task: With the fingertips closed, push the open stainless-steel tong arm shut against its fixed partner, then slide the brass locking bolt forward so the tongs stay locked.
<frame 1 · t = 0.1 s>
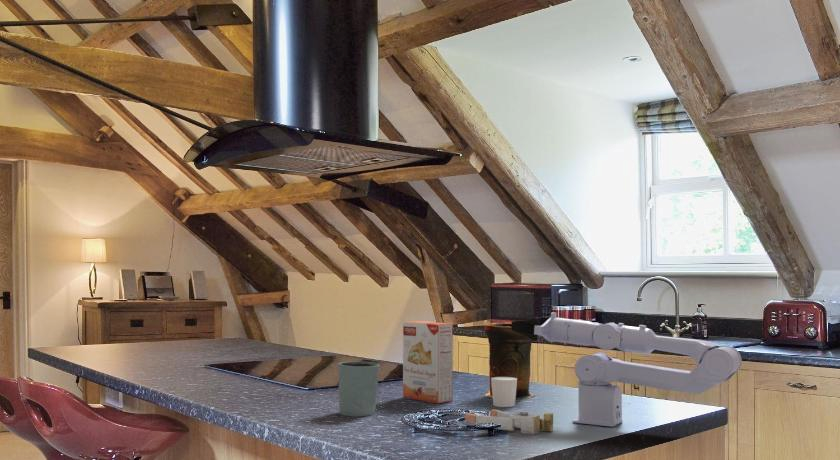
hand: (518, 324, 196), 22 cm above the countertop, tool horizontal, fingers open, 7 cm apart
vessel: (509, 396, 225), on the countertop
green cup: (358, 414, 195), on the countertop
tong arm: (507, 418, 181), point 1 cm above the countertop, hinge at -28.0°
white tapered cup: (504, 405, 208), on the countertop
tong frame: (524, 431, 174), on the countertop
cracker box: (427, 400, 216), on the countertop
lock bolt: (540, 421, 175), point 2 cm above the countertop, slide at 0.0 cm
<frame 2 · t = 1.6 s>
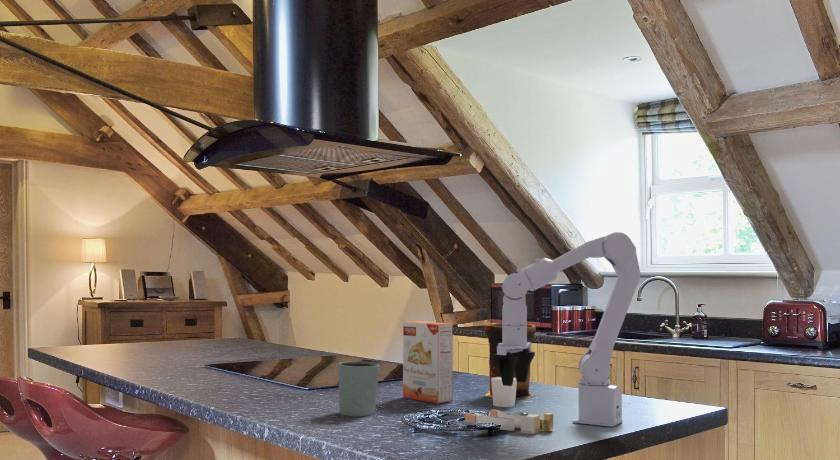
hand: (514, 383, 187), 8 cm above the countertop, tool pointing down, fingers open, 7 cm apart
nothing on the countertop moved.
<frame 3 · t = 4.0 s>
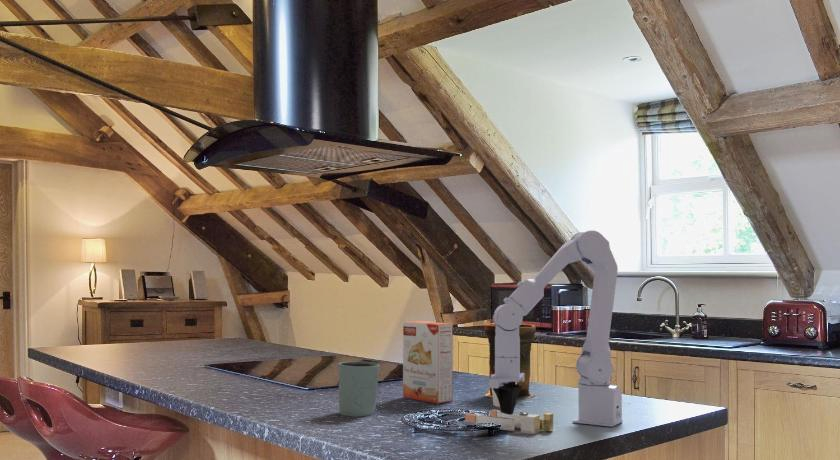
hand: (507, 416, 184), 1 cm above the countertop, tool pointing down, fingers closed
tong arm: (507, 418, 181), point 1 cm above the countertop, hinge at -27.8°, touching gripper
everything else where it was.
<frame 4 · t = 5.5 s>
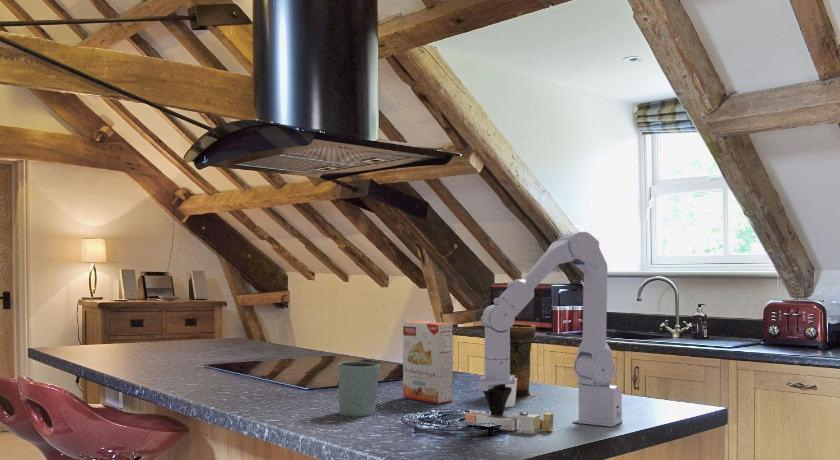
hand: (497, 419, 180), 1 cm above the countertop, tool pointing down, fingers closed
tong arm: (494, 420, 179), point 1 cm above the countertop, hinge at 0.3°, touching gripper
everything else where it was.
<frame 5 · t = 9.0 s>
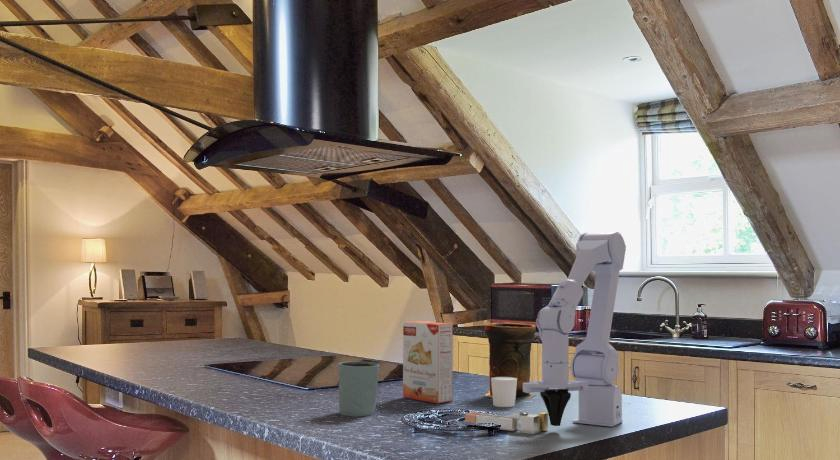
hand: (555, 425, 174), 1 cm above the countertop, tool pointing down, fingers closed
tong arm: (494, 420, 179), point 1 cm above the countertop, hinge at 0.3°
lock bolt: (535, 420, 176), point 2 cm above the countertop, slide at 1.3 cm, touching gripper
everything else where it was.
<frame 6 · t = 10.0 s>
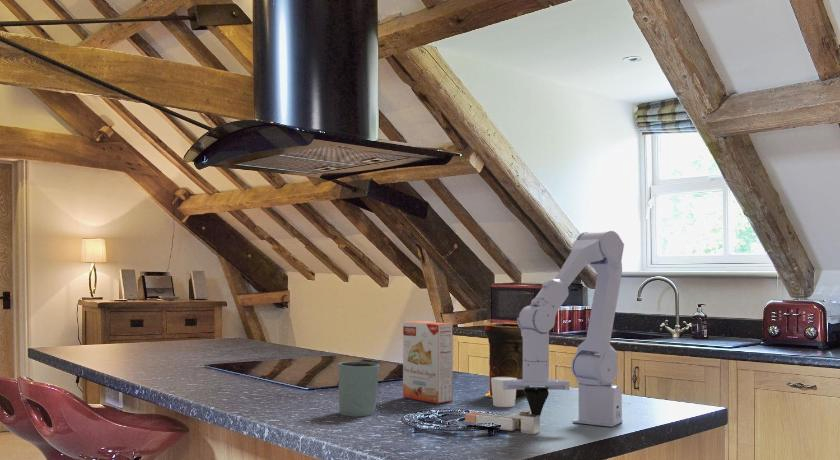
hand: (535, 422, 176), 1 cm above the countertop, tool pointing down, fingers closed
lock bolt: (517, 418, 178), point 2 cm above the countertop, slide at 5.5 cm, touching gripper
everything else where it was.
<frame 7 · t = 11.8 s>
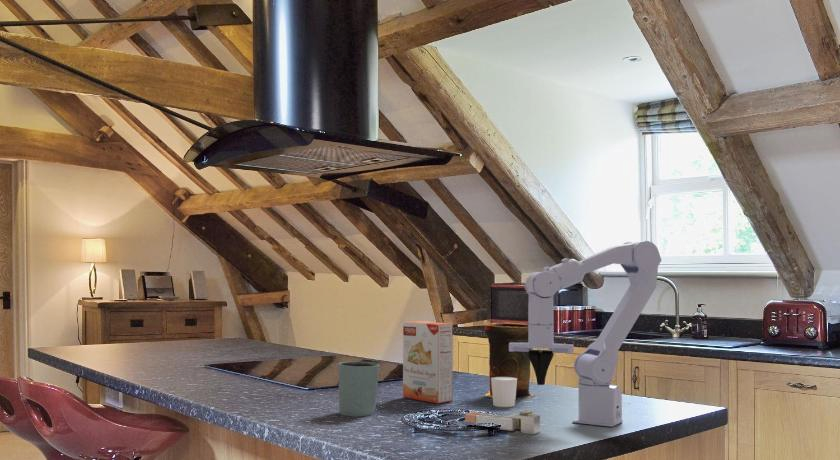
hand: (541, 384, 183), 9 cm above the countertop, tool pointing down, fingers closed
lock bolt: (519, 418, 178), point 2 cm above the countertop, slide at 5.0 cm
everything else where it was.
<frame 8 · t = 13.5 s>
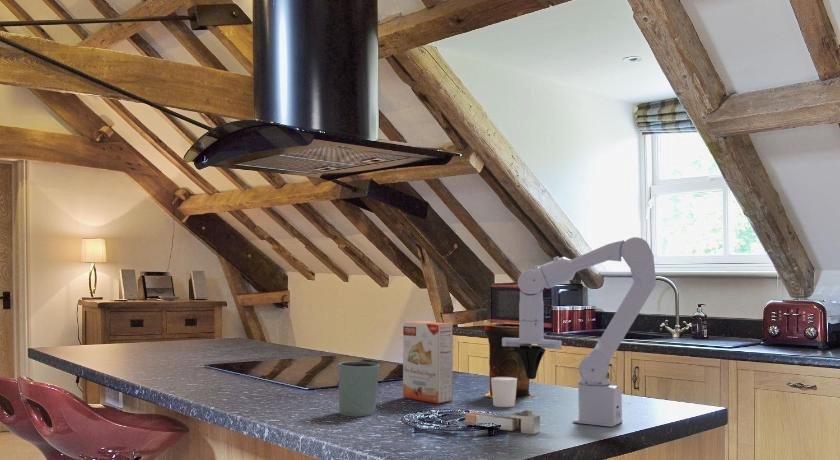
hand: (531, 378, 190), 9 cm above the countertop, tool pointing down, fingers closed
nothing on the countertop moved.
at the end: tong arm at +0° (first picture: -28°); lock bolt slide at 5.0 cm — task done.
